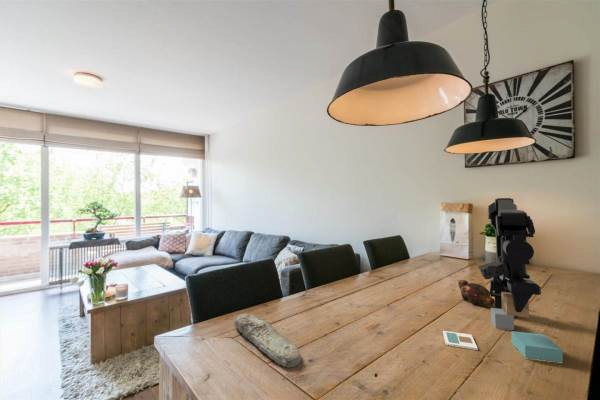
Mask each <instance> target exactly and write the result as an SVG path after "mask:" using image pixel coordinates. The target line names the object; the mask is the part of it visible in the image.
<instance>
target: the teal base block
mask: <svg viewBox="0 0 600 400" xmlns="http://www.w3.org/2000/svg"><path fill="white" fill-rule="evenodd" d="M510 332H511V345H512V346H513V345H514V346H515V347H516V348H517V349H518V350H519V351H520V352H521V353H522V355H523V356H524V357H525V358H528V359H539V360H546V361H552V362H553V361H554V362H562V363H563V364H564V361H563V360H564V358H563V355H564V354H563V349H562V348H561V347H560V346H558V345H557V344H556V343H555V342H554V341H553V340H551V339H550V338H549V337H548V336H547V335H546V334H541V333H534V332H525V331H524V332H523V331H515V330H514V331H511V330H510ZM514 346H513V347H514ZM515 347H514V348H515ZM516 348H515V349H516ZM517 349H516V350H517ZM518 350H517V351H518ZM519 351H518V352H519ZM522 355H521V356H522ZM523 356H522V357H523ZM524 357H523V358H524ZM525 358H524V359H525Z"/></svg>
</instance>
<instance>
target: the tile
mask: <svg viewBox="0 0 600 400" xmlns="http://www.w3.org/2000/svg"><path fill="white" fill-rule="evenodd" d="M442 335H443V339H444V342H445V346H448V345H449V347H454V346H455V347H456V348H460V347H461V349H468V350H474V351H478V350H479V349H478V346H477V344H476V341H475V340H474V337H473V334H470V333H462V332H455V331H448V330H442ZM455 347H454V348H455Z"/></svg>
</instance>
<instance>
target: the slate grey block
mask: <svg viewBox="0 0 600 400" xmlns="http://www.w3.org/2000/svg"><path fill="white" fill-rule="evenodd" d="M514 319H515V317H514V316H512V315H507V314H506V313H505V312H504V310H503V309H497V308H492V307H490V322H491V324H492V323H493V324H492V325H493V327H494V326H495V327H494V328H495V329H496V328H498V330H504V329H506V330H505V331H511V330H514V331H515V323H514V322H515V320H514Z"/></svg>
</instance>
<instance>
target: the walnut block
mask: <svg viewBox="0 0 600 400" xmlns="http://www.w3.org/2000/svg"><path fill="white" fill-rule="evenodd" d="M501 297H502V309H503V310H504V312H505V313H506V314H507V315H512V316H518V317H520V318H521V317H522V318H530V309H529V308H530V307H529V306H530V304H529V302H530V300H529V301H528V302H527V304H526V305H525V307H524V308H523V310H522V312H516V310H515V306H514V301H513V297H512V293H509V292H501Z"/></svg>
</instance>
